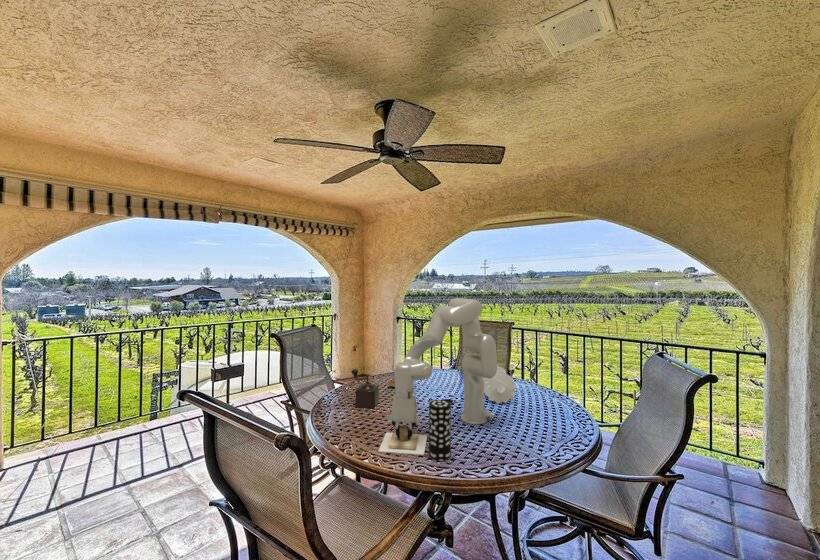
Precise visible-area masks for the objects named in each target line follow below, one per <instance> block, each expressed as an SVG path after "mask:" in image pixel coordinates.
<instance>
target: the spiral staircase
mask: <svg viewBox="0 0 820 560" xmlns="http://www.w3.org/2000/svg"><path fill="white" fill-rule="evenodd" d="M483 380H484V395H485V396H487V398H488V401H492V402H495V403H496V404H497V405H498V404H502V403H504V404H506V403H508V401H510V400H511V399H512V400H513V399H514V397H515V396H516V388H517V385H516V383H515V382H514V378H513V377H512V376H511V375H509V374H508V373H507V370H506V369H505V368H503V367H501V366H500V365H499V364H497V372H496V374H495V376H494V377H493V378H484V377H483Z"/></svg>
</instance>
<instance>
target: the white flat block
mask: <svg viewBox="0 0 820 560" xmlns="http://www.w3.org/2000/svg"><path fill="white" fill-rule="evenodd" d="M392 434H393V432H386V433H385V434H384V437H383V439H382V441H381V444H380V445H379V448H378V450H377V451H378V453H387V454H401V455H411V456H413V455H416V456H425V452H426V445H427V438H428V434H419V437H418V441H417V446H416V449H403V448H389V447H388V445H389V442H390V439H391V437H392Z"/></svg>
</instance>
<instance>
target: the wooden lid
mask: <svg viewBox="0 0 820 560" xmlns="http://www.w3.org/2000/svg"><path fill="white" fill-rule="evenodd" d="M408 429H409V425H406V424H402V425H399V439H397V436H396V431H395V432H392V433H393V434H392V437H391V439H390V442H389V445H388V447H389V448H403V449H416V446H417V441H418V437H419V435H420V434H419V433H412V437H410V440H409V439H408Z"/></svg>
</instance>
